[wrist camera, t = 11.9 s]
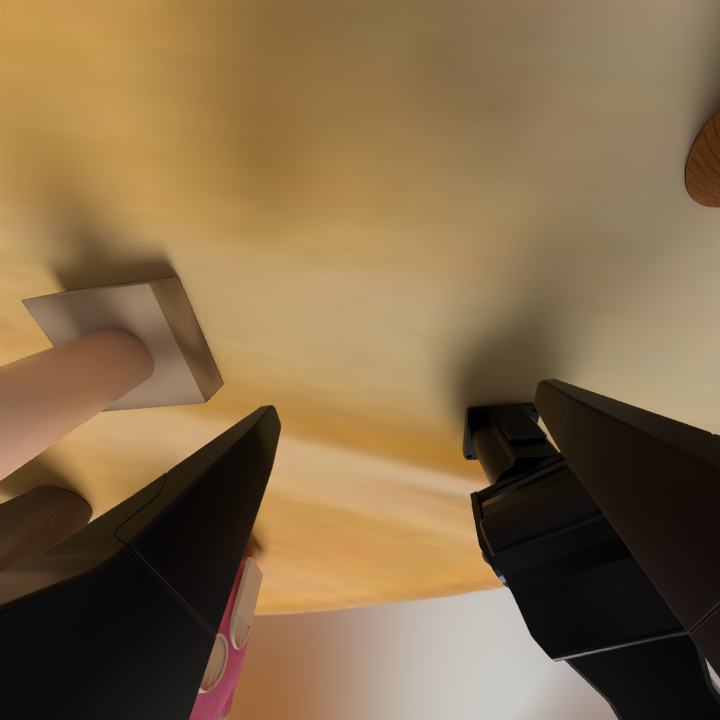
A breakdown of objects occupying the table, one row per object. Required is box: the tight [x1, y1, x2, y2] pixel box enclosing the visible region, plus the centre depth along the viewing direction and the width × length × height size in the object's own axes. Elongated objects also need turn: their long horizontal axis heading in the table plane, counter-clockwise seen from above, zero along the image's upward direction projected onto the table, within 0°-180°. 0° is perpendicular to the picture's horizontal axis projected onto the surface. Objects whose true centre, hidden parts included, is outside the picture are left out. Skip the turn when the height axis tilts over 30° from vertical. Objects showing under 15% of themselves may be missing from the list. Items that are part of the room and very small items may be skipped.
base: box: [21, 276, 224, 412], centre depth 22 cm, size 10×10×3 cm
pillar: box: [0, 328, 154, 481], centre depth 14 cm, size 5×5×13 cm
